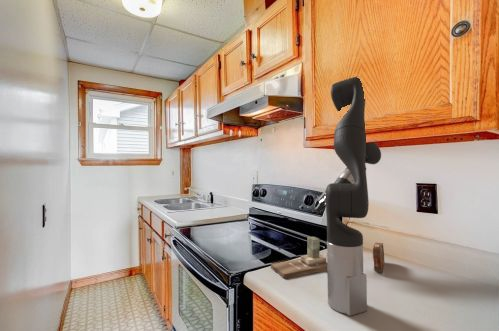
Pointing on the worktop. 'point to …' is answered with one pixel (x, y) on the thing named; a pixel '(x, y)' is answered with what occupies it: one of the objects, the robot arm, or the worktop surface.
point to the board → (296, 268)
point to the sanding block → (313, 252)
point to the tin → (378, 257)
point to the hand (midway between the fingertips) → (323, 213)
